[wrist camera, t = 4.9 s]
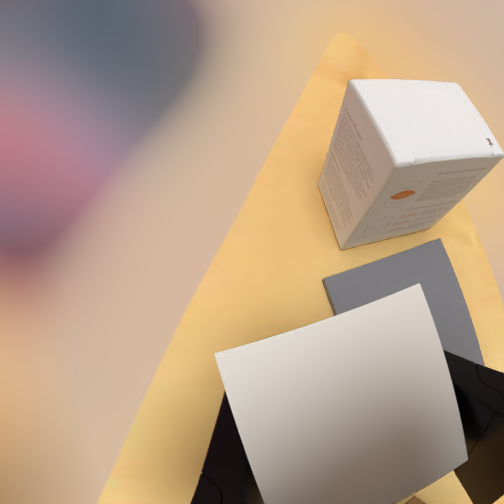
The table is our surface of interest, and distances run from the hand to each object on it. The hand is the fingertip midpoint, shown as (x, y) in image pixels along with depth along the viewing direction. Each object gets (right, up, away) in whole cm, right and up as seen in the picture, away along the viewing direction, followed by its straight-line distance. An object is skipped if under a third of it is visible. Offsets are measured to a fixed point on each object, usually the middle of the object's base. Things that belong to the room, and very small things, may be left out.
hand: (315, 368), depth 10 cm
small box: (+7, +7, +13) cm, 17 cm away
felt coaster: (+9, -2, +10) cm, 13 cm away
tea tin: (0, -3, +6) cm, 7 cm away
